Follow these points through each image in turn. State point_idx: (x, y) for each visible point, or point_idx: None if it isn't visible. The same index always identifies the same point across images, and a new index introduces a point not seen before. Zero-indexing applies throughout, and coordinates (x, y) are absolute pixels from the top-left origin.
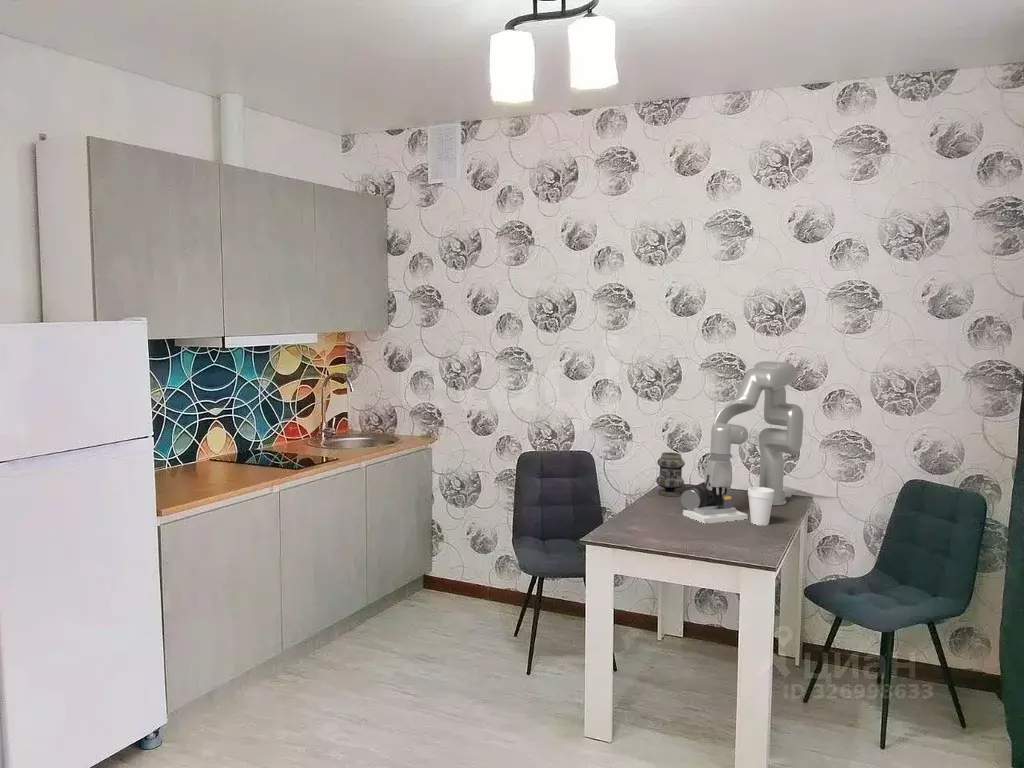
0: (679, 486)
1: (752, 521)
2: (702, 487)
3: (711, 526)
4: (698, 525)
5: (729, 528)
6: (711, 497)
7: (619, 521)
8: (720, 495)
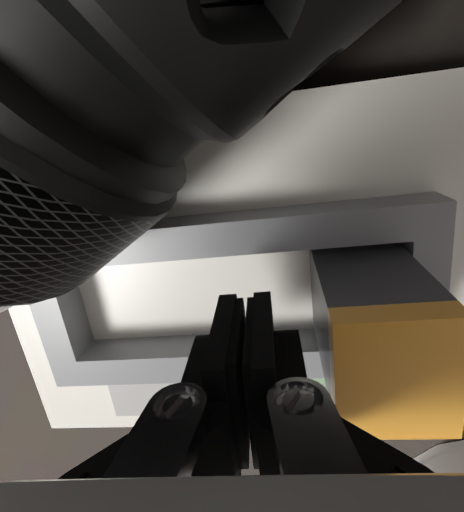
0: None
1: None
2: None
3: (97, 451)
4: (24, 414)
5: None
6: (328, 58)
7: None
8: (255, 467)
